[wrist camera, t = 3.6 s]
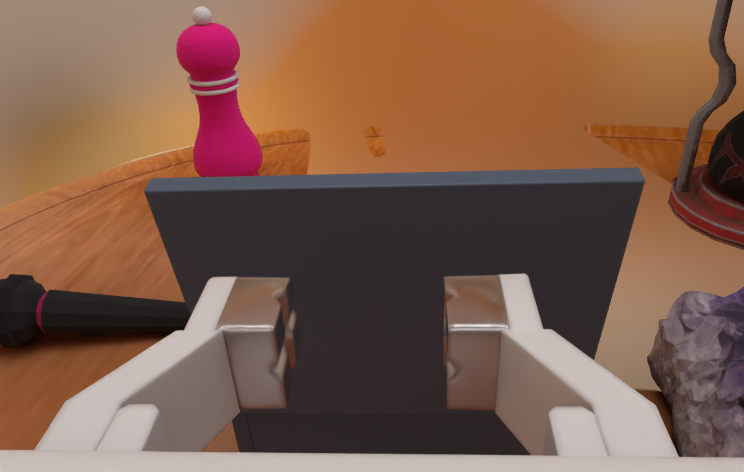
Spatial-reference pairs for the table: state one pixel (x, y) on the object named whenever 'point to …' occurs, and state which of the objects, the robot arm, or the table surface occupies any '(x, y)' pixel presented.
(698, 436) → the geode
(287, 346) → the robot arm
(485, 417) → the case
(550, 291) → the lid
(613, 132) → the table surface
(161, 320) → the microphone
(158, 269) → the table surface
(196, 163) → the pepper mill
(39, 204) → the table surface
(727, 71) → the hourglass
